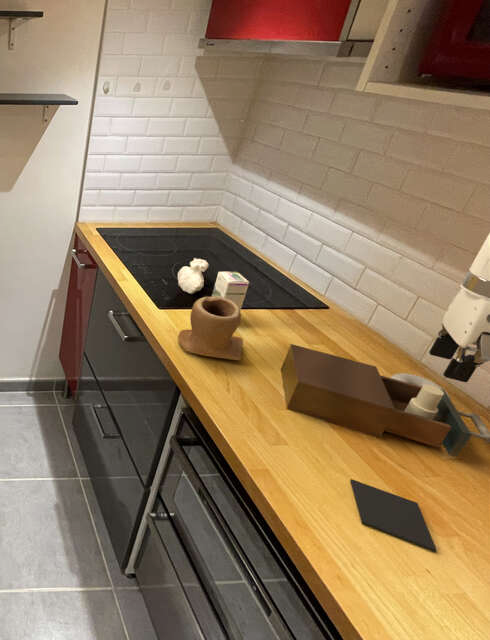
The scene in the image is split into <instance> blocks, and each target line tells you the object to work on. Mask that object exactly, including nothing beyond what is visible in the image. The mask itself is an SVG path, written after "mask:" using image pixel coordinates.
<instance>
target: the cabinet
mask: <svg viewBox="0 0 490 640" xmlns="http://www.w3.org/2000/svg"><path fill="white" fill-rule="evenodd" d="M280 373H281V379H282V381H281V382H282V386H283V394H284V399H285V400H284V401H285V406H286V407H285V408H286V409H287V410H290V411H294V412H296V413H299V414H301V415H305V416H308V417H311V418H315V419H318V420H320V421H324V422H327V423H331V424H333V425H337V426H340V427H342V428H346V429H348V430H352V431H354V432H355V431H356V432H358V433H362V434H365V435H368V436H371V437H374V438H377V439H380V438H381V437H382V435H383V433H384V432H385V431H384V430H385V428H386V426H387V424H388V422H389V421H390V419H391V417H392V415H393V414H394V412H395V408H394V405H393V403H392V401H391V399H390V396H389V394H388V392H387V390H386V388H385V385H384V383H383V381H382V379H381V376H382V375H381V374H380V372H379V370H378V368H377V366H376V365H372V364H368V363H364V362H361V361H357V360H354V359H349V358H345V357H342V356H337V355H335V354H332V353H331V354H330V353H326V352H323V351H318V350H315V349H312V348H308V347H304V346H301V345H296V344H294V343H293V344H292V343H291V344H290V346H289V347H288V351H287V353H286V356H285V358H284V360H283V363H282V365H281V368H280ZM380 375H381V376H380Z"/></svg>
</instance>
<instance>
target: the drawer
mask: <svg viewBox="0 0 490 640" xmlns="http://www.w3.org/2000/svg"><path fill="white" fill-rule="evenodd" d="M380 376H381V379H382V381H383V383H384V385H385V388H386V390H387V392H388V394H389V396H390V399H391V401H392V403H393V405H394V408H395V412H394V414H393V415H392V417H391V419H390V421H389V422H388V424H387V426H386V428H385V430H384V431H383V432H387V433H391V434H393V435H397V436H400V437H403V438H406V439H409V440H412V441H417V442H419V443H422V444H426V445H429V446H431V447H434V448H439V447H440V446H441V445H442V444H443V447H444V448H445V450H446V452H447V454H448V455H450V456H452V457H455V458H458V456H459V454H461V452H462V450H463V449H464V447H465V446H466V444H467V443H468V441H469V440H470V439H471V437H475V438H478V439H482V440H483V441H484V442H485V443H487V444H490V429H489V428H488V427H487V425H486V424H485V422H484V421H483V419H482V418H481V415H479V414H478V413H476V412H471V413H468V412H465V411H461V410H459V409H457V408H456V407H455V404H453V402H452V400H451V398H450V399H449V397H448V395H447V394H446V392H447V391H446V390H445V389H444V390H445V391H446V392H445V391H444V390H442V389H441V390H442V391H443V392H444V395H443V397H442V398H441V400H440V402H439V403H438V405H437V408H438V412H437V414H436V416H435V417H434V419H433V420H432V419H428V418H425V417H421V416H418V415H415V414H411V413H408V412H404V411H405V409H406V407H407V406H408V404H409V402H410V400H411V399H412V398H416V397H417V395H418V394H419V392H420V390H421V388H422V387H421V386H418V385H414V384H410V383H407V382H403V381H399V380H396V379H392V378H391V377H388V376H385V375H381V374H380ZM462 417H465V418H469V419H470V420H471V422H472V424H473V425H474V426H475V428H476V430H477V431H478V432H475V431H473V430H472V431H471V430H470V429H469V428H468V426H467V425H466V423H465V422H464V420H463V418H462Z"/></svg>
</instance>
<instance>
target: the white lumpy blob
mask: <svg viewBox="0 0 490 640" xmlns="http://www.w3.org/2000/svg"><path fill="white" fill-rule="evenodd" d="M189 265H190V266H187V265H185V266H182V267H181V268H180V269H179V271H178V272H177V285H178V286H179V288H180V289H181V290H182V291H183V292H186V293H187V294H189V295H193V294H195V293H196V292H199V291H201V290H202V288H204V282H205V280H204V279H205V278H204V275H203V273H204V272H205V271H206V270H207V269H208V268H209V267H210V266H209V263H208V262H207V260H205V259H201V258H197V257H194V258H193V260H192V261H190V262H189ZM202 272H203V273H202Z"/></svg>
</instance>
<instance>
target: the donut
mask: <svg viewBox="0 0 490 640" xmlns="http://www.w3.org/2000/svg"><path fill="white" fill-rule="evenodd" d="M390 378H392V379H396V380H399V381H403V382H407V383H410V384H414V385H418V386H421V387H423V385H425V384H428V385H432V386H435V387H437V388H439V389H442V390H444V391H445V392H446V394H447V395H448V397H449V399H450V400H451V396H450V395H449V393H448V392H447V391H446V390H445V389H444V388H443V386H441V385H440V384H437V383H436V382H434V381H432V380H430V379H428V378H426V377H423V376H420V375H417V374H413V373H407V372H399V373H394V374H392V376H390Z"/></svg>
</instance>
